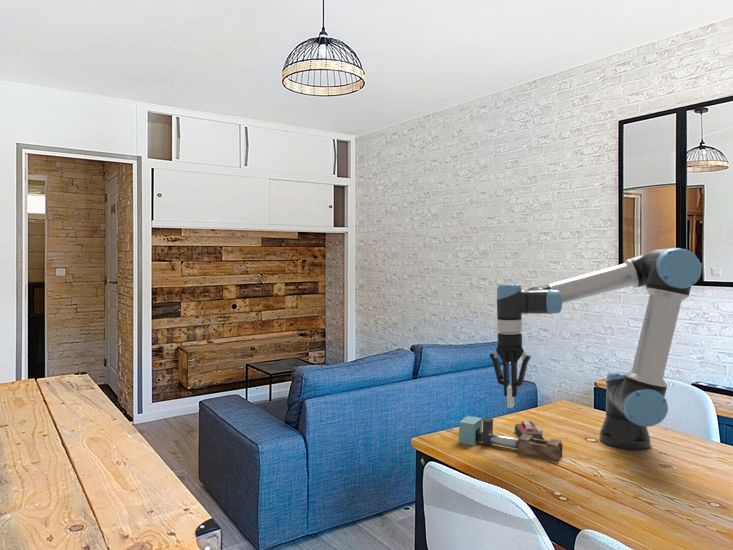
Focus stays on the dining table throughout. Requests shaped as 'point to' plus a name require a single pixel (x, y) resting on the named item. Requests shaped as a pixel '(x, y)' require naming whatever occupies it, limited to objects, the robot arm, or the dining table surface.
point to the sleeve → (540, 447)
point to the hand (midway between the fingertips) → (510, 406)
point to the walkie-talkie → (529, 429)
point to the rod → (494, 436)
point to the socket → (469, 430)
